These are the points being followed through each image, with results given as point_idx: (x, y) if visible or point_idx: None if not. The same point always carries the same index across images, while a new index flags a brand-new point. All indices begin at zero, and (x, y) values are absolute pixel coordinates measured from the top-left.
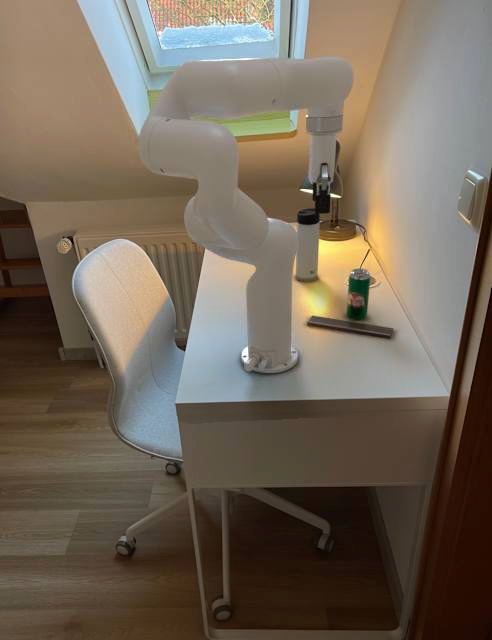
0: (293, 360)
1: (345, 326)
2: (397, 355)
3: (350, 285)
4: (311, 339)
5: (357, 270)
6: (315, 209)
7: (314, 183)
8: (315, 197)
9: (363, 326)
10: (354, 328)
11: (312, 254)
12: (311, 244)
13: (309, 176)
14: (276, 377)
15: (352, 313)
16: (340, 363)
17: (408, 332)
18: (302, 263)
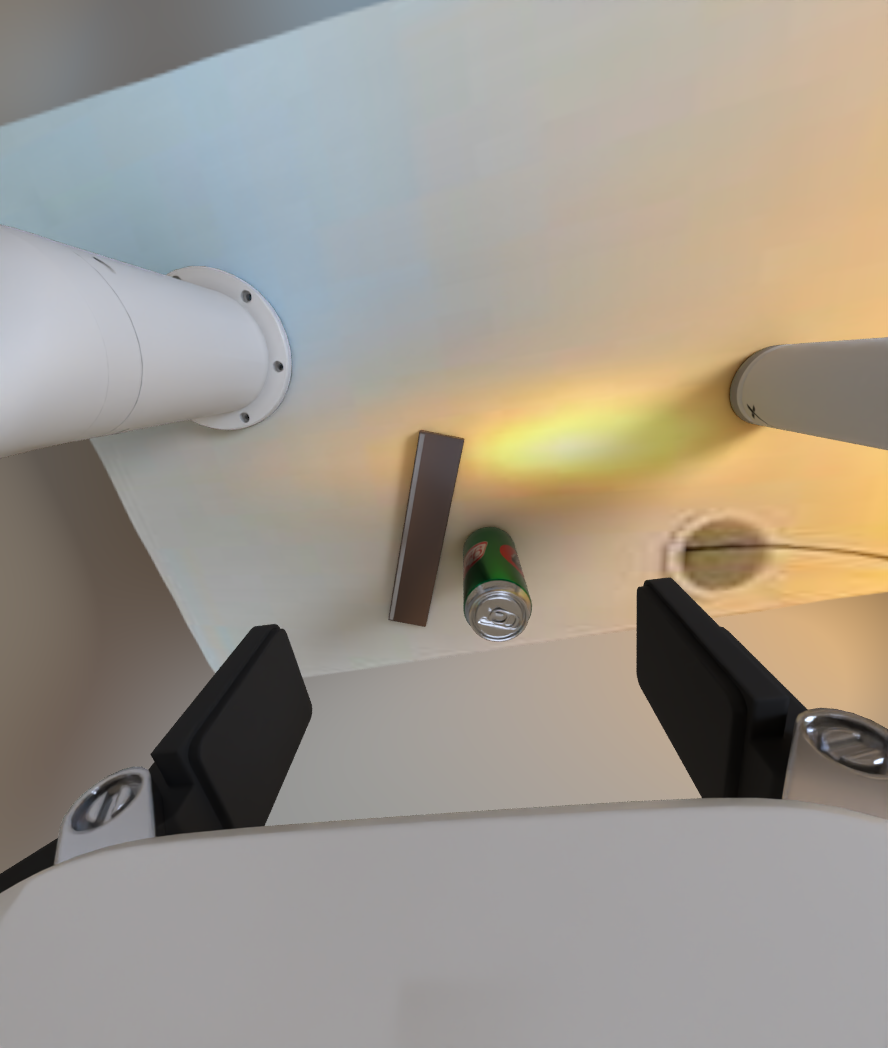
0: (206, 422)
1: (414, 528)
2: (325, 626)
3: (477, 572)
4: (347, 449)
5: (510, 609)
6: (241, 646)
7: (754, 715)
8: (171, 731)
9: (422, 568)
10: (408, 549)
11: (805, 418)
12: (841, 418)
13: (174, 953)
14: None
15: (465, 546)
16: (258, 523)
17: (426, 648)
18: (782, 375)
